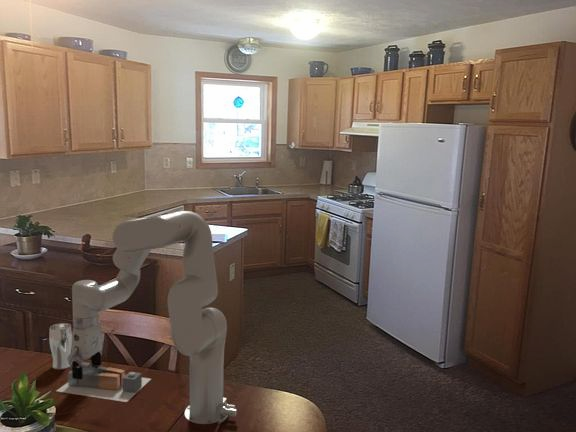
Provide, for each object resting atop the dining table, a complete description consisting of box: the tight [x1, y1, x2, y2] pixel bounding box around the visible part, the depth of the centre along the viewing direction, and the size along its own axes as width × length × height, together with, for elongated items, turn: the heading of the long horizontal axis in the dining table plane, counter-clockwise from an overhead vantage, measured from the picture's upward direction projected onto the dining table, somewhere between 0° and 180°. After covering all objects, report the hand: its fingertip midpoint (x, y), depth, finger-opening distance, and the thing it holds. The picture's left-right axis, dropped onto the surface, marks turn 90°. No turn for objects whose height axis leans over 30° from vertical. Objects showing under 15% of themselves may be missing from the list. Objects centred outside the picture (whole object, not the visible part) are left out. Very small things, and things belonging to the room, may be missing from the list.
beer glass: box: [48, 322, 73, 370], centre depth 167 cm, size 7×7×15 cm
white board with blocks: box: [56, 371, 152, 403], centre depth 155 cm, size 24×15×6 cm, turn 77°
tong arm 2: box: [81, 361, 126, 385], centre depth 158 cm, size 16×2×4 cm, turn 71°
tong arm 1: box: [67, 369, 120, 390], centre depth 153 cm, size 16×2×4 cm, turn 83°
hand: (87, 371), depth 156 cm, fingers open, 9 cm apart
